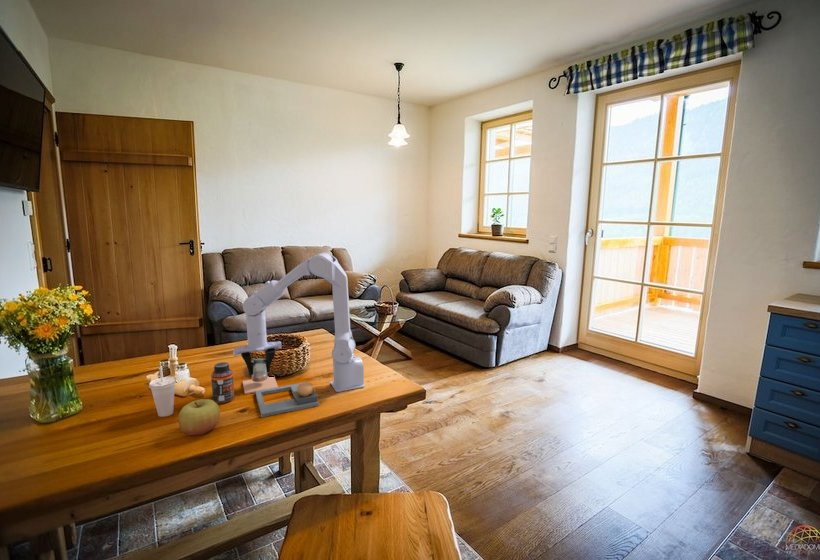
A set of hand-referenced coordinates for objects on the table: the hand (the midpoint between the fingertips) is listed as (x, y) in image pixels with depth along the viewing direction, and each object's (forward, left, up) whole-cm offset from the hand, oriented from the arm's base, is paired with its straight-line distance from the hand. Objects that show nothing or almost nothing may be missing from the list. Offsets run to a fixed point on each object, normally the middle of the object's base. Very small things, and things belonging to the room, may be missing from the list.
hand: (259, 372), depth 132 cm
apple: (+17, +22, -5) cm, 28 cm away
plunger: (-11, +18, -3) cm, 21 cm away
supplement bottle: (+11, +6, -5) cm, 13 cm away
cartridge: (0, 0, -2) cm, 2 cm away
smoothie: (+26, +8, -5) cm, 28 cm away
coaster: (0, 0, -4) cm, 4 cm away
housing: (-6, +14, -4) cm, 16 cm away
